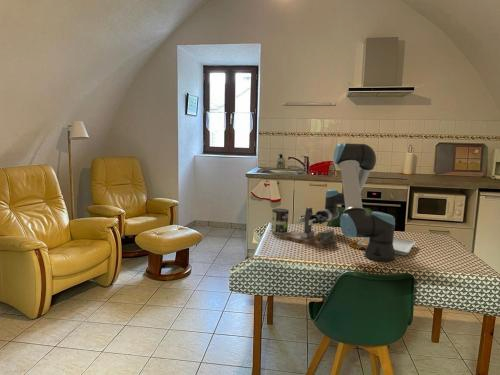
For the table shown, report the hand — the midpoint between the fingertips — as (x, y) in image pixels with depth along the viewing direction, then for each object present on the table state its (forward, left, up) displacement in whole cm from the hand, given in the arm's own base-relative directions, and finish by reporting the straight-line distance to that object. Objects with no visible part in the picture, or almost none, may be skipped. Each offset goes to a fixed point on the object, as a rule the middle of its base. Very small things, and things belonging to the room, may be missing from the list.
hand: (304, 221), depth 224 cm
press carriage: (+3, -4, -10) cm, 11 cm away
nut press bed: (+3, -4, -12) cm, 13 cm away
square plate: (-15, -45, -13) cm, 49 cm away
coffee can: (+24, +6, -12) cm, 27 cm away
